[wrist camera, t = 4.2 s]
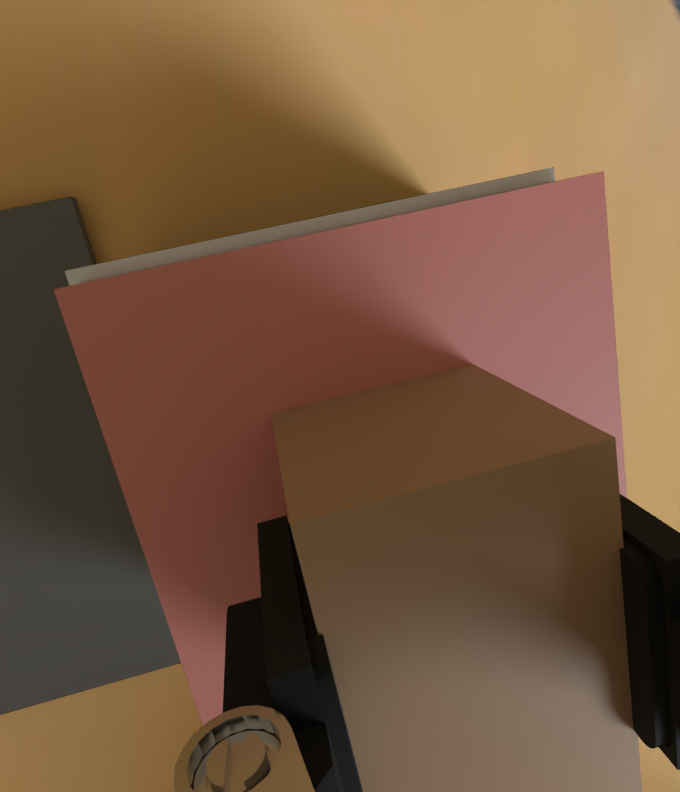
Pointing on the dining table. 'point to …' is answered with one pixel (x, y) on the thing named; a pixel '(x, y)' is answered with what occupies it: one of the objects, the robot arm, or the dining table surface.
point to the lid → (395, 474)
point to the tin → (307, 227)
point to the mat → (61, 490)
